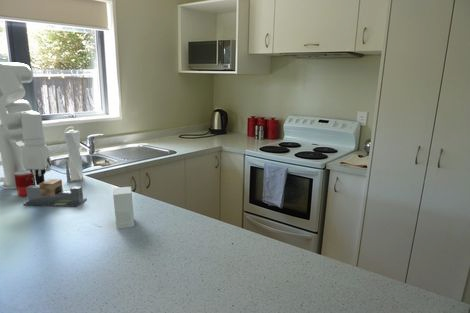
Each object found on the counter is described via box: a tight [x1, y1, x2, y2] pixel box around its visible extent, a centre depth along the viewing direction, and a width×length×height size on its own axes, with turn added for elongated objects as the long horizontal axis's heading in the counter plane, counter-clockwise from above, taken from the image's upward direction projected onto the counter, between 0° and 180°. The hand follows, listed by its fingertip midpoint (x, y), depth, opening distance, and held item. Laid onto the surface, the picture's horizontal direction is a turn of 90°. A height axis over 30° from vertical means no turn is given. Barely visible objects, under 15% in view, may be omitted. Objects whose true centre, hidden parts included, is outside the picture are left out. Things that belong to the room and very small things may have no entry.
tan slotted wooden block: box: [38, 178, 64, 196], centre depth 149 cm, size 6×6×6 cm
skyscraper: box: [63, 125, 84, 183], centre depth 180 cm, size 8×8×28 cm
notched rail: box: [22, 185, 88, 208], centre depth 150 cm, size 24×9×7 cm, turn 84°
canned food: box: [14, 170, 37, 198], centre depth 160 cm, size 8×8×11 cm
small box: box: [112, 186, 135, 230], centre depth 127 cm, size 8×6×13 cm
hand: (40, 184), depth 149 cm, fingers closed
